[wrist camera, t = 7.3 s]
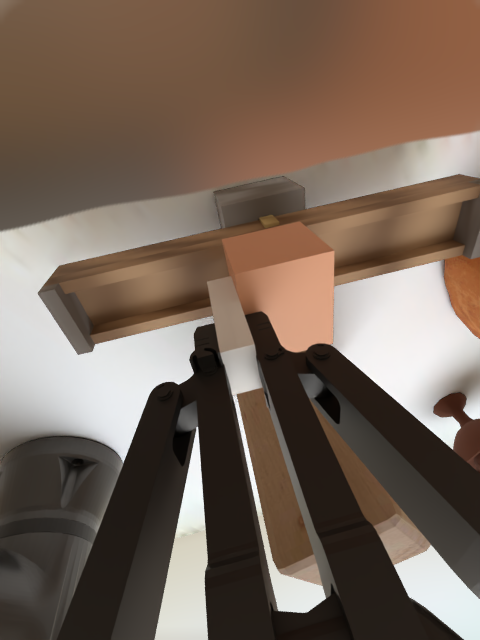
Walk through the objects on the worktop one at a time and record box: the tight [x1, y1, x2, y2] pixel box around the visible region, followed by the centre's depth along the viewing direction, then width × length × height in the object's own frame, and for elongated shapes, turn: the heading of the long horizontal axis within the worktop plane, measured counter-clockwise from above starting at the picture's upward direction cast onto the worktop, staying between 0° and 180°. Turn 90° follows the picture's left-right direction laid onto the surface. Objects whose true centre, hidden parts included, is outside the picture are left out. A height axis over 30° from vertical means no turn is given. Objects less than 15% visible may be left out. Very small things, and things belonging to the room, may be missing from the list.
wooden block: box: [237, 350, 431, 586], centre depth 30 cm, size 10×10×20 cm
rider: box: [222, 221, 334, 352], centre depth 19 cm, size 5×6×6 cm
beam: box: [38, 174, 480, 355], centre depth 24 cm, size 30×8×9 cm, turn 100°
